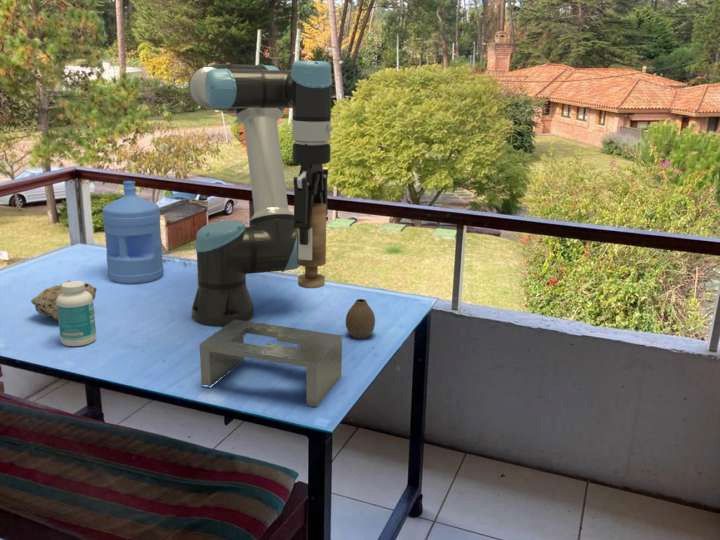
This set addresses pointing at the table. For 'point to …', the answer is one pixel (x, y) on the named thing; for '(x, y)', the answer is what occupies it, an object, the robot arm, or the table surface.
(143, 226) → the water jug
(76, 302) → the pill bottle
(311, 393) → the keyhole plate
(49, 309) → the pumice stone
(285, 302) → the table surface
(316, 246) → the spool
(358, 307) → the vase
